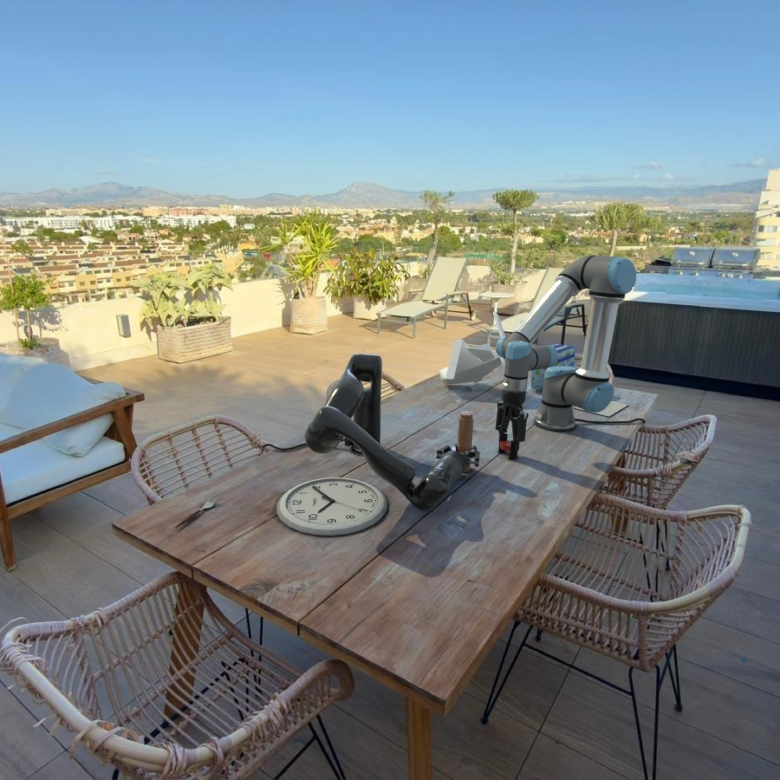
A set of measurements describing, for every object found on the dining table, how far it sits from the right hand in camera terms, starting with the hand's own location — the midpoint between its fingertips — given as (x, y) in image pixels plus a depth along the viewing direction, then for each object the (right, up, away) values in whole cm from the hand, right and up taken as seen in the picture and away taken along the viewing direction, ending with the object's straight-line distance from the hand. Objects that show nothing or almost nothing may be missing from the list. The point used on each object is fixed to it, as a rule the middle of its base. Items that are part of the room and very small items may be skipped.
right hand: (507, 455), depth 176 cm
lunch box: (+38, +23, +75) cm, 87 cm away
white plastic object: (+2, +21, +67) cm, 70 cm away
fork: (-90, -11, -39) cm, 99 cm away
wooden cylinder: (-16, -3, -10) cm, 20 cm away
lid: (0, +4, -1) cm, 4 cm away
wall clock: (-55, -10, -33) cm, 65 cm away
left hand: (-15, +4, -10) cm, 19 cm away
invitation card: (+52, +15, +50) cm, 74 cm away
